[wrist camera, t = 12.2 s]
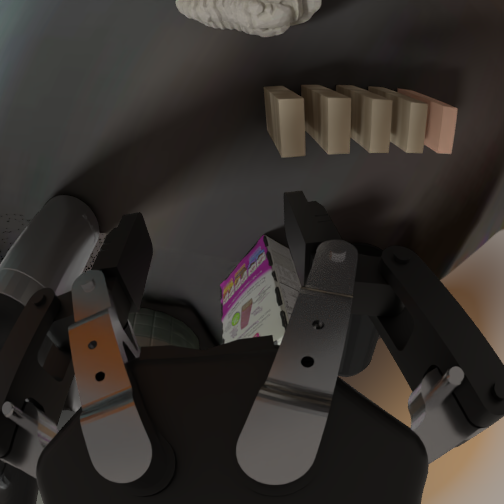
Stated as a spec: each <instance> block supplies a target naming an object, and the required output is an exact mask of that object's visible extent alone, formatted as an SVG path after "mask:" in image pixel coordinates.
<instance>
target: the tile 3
mask: <svg viewBox="0 0 504 504" xmlns="http://www.w3.org/2000/svg"><path fill="white" fill-rule="evenodd" d="M336 92H338V93H340V94H343V95H345V96H347V97H350V98H351V130H350V137H351V138H352V139H353V140H354V141H356V142H357V143H358V144H359V145H361V146H362V147H363V148H364V149H366V150H367V151H368V152H369V153H389V143H390V131H391V117H392V100H390V99H388V98H385V97H383V96H380V95H378V94H375V93H372V92H370V91H367V90H364V89H362V88H359V87H356V86H353V85H336Z"/></svg>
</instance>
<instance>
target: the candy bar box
mask: <svg viewBox="0 0 504 504" xmlns="http://www.w3.org/2000/svg"><path fill="white" fill-rule="evenodd" d="M300 289H301V284H300V281H299V278H298V274H297V271H296V268H295V265H294V261H293V258H292V255H291V252H290V250H289V248H287V247H285V246H284V245H282V244H280V243H278V242H276V241H274V240H273V239H271V238H269V237H268V236H266V235H263V236H262V237H261V238H260V239H259V240H258V241H257V243H256V244H255V245H254V246H253V247H252V249H251V250H250V251H249V252H248V253H247V255H246V256H245V257H244V258H243V259H242V260H241V262H240V263H239V264H238V265H237V266H236V267H235V269H234V270H233V271H232V272H231V273H230V274H229V276H228V277H227V278H226V279H225V280H224V281H223V282H222V284H221V285H220V292H221V314H222V333H223V334H222V335H223V344H225V343H228V342H231V341H234V340H237V339H244V338H252V337H260V336H268V335H273V341H274V345H280V344H281V341H282V338H283V336H284V333H285V330H286V328H287V325H288V322H289V319H290V317H291V314H292V311H293V308H294V305H295V302H296V300H297V297H298V294H299V291H300Z"/></svg>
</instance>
